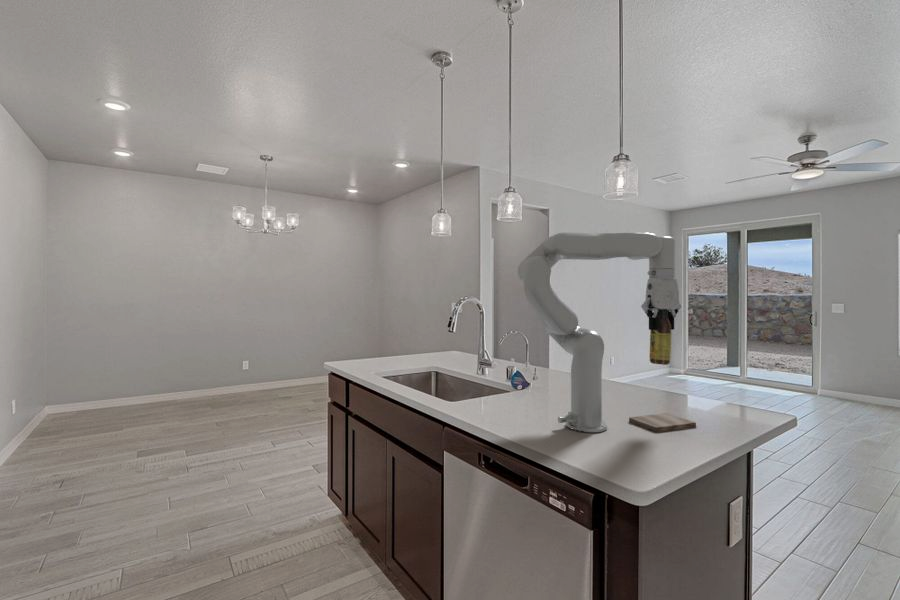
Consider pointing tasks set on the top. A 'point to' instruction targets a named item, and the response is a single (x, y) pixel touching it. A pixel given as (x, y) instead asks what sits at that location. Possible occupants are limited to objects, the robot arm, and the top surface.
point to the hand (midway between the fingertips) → (661, 329)
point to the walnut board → (662, 422)
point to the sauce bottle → (661, 339)
